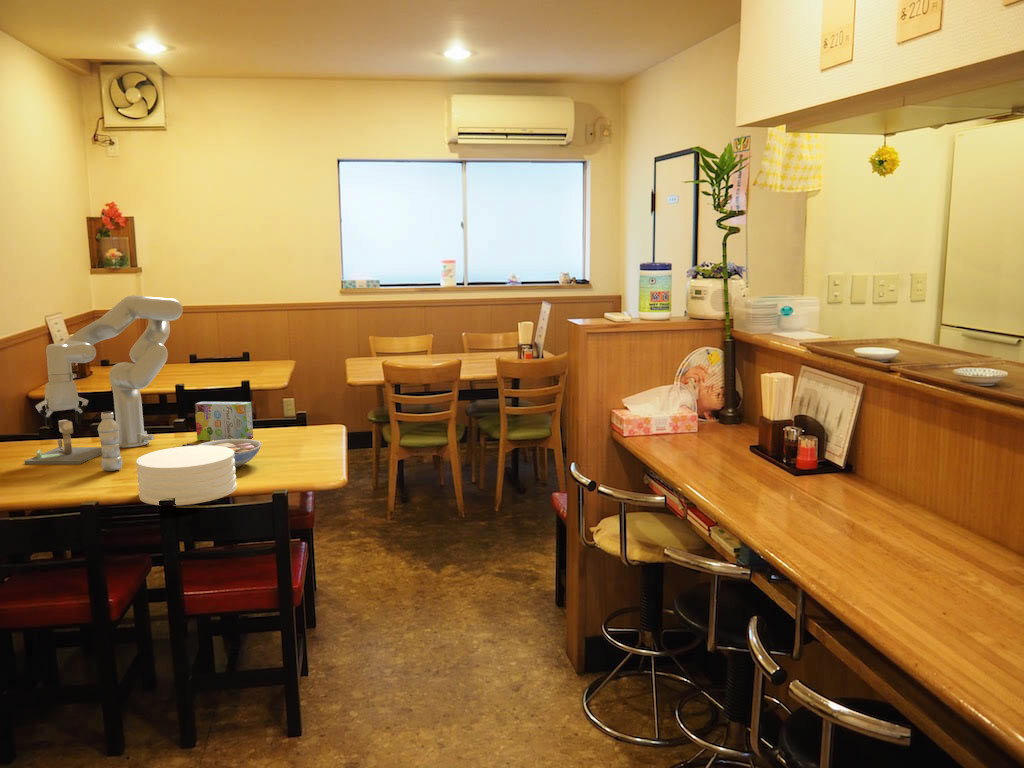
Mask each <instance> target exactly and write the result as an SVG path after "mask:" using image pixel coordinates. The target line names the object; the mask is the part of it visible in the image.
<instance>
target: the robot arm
mask: <svg viewBox="0 0 1024 768" xmlns="http://www.w3.org/2000/svg"><path fill="white" fill-rule="evenodd" d="M183 311H184V309H183V305H182V303H181V302H180V301H179V300H177V299H175V298H169V297H168V298H167V297H154V296H148V295H147V296H145V295H134V294H133V295H127V296H126V297H124V298H122V299H121V300H120V301H119V302H118V303H116V304H115V305H114V306H113V307H112V308H110V309H109V311H107V312H105V314H104V315H102V316H101V317H100V318H98V319H96V320H94V321H92V322H91V323H89V324H87V325H86V326H84V327H82V328H80V329H79V330H77V331H76V332H75V333H73V334H72V335H71V336H70V337H69V338H68V339H67V340H65V341H64V343H62V342H61V343H60V342H59V343H51V344H48V345H47V346H46V348H45V353H46V354H45V355H46V363H47V364H46V365H47V376H48V377H47V378H48V382H46V383H45V389H44V400H42V401H40V402H39V403H37V404H35V408H36V410H37V411H38V413H40V414H41V415H42V416H43V417H44V425H45V426H46V427H47V428H48V429H52V428H53V420H52V416H51V415H52V414H53V412H59V411H60V412H61V411H66V410H74V411H75V413H74V417H75V420H74V421H75V424H77V425H81V424H82V421H83V417H82V413H83V412H84V411H85V409H86V408H87V405H88V403H89V400H88V399H86V398H83V397H80V396H79V393H78V388H77V386H76V382H75V381H74V379H75V378H77V374H76V373H73V367H72V363H74V364H75V363H77V364H85V363H86V364H87V363H89V362H91V361H93V360H94V359H95V358H96V356H97V349H96V347H95V346H94V345H95V344H97V343H100V342H101V341H104V340H108V339H112V338H115V337H117V336H119V335H120V334H122V333H123V331H124V330H126V329H127V328H128V327H129V326H130V325H131V324H133V322H135V321H136V320H137V319H145V320H148V324H147V327H146V328H145V330H144V331H143V333H142V334H141V335H140V336H139V337H138V338H137V340H136V341H135V343H134V344H133V345H132V347H131V348H130V350H129V357H130V360H131V361H132V362H127V361H123V362H118V363H116V364H113V366H112V367H111V368H110V371H109V374H108V375H109V376H108V378H109V383H110V385H111V391H112V393H113V405H114V406H113V408H114V417H115V422H116V423H117V424H118V426H119V449H121V448H123V449H124V448H125V449H126V448H136V447H142V446H145V445H148V444H149V443H150V441H154V439H155V435H154V434H152V433H150V434H148V432H147V430H145V428H144V417H143V416H144V415H143V414H144V413H143V405H142V404H143V401H142V396H141V391H140V390H143V389H145V388H147V387H148V386H149V385H150V384H151V383H152V381H153V380H154V379H155V378H156V377H157V376H158V374H159V373H160V371H161V370H162V368H163V367H164V366H165V364H166V362H167V361H168V356H169V351H168V349H167V347H166V346H165V343H166V341H168V339H169V337H170V333H171V326H170V322H171V321H176V320H178V319H179V318H180V317H181V316H182V314H183ZM80 402H82V404H81V405H80ZM44 406H45V409H46V410H43V407H44Z"/></svg>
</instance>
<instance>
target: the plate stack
mask: <svg viewBox="0 0 1024 768" xmlns="http://www.w3.org/2000/svg"><path fill="white" fill-rule="evenodd" d="M195 445H196V446H183V447H182V446H177V447H169V448H168V447H167V448H165V449H158V450H156V451H151V452H149V453H145V454H143V455H141V456H139V457H138V458H137V459H136V461H135V463H136V474H137V483H138V485H137V487H138V499H139V500H140V501H141V502H143V503H145V504H149V505H155V506H160V505H159V501H160V500H162V499H166V498H175V504H176V505H175V506H185V505H195V504H200V503H206V502H211V501H215V500H218V499H222V498H225V497H227V496H229V495H230V494H233V493H234V492H236V490H237V487H238V486H237V482H236V481H237V475H236V468H235V466H234V465H235V459H234V456H235V455H234V450H232V449H230V448H227V447H223V446H213V445H199V444H195Z"/></svg>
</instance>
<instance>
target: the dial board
mask: <svg viewBox="0 0 1024 768" xmlns="http://www.w3.org/2000/svg"><path fill="white" fill-rule="evenodd" d="M62 448H64V446H62ZM100 454H102V447H95V446H93V447H91V446H90V447H88V446H85V447H84V446H83V447H79V446H78V447H77V446H76V447H74V446H72V453H71V454H65V452H64V451H62V450H59V446H58V447H55V448H52V449H51V450H48V451H45V452H43V453H42V449H38V450H37V451H36V456H33V457H31V458H28V459H25V460H24V461H23V462H24V465H81V463H82V464H84V463H86V462H88V461H87V460H89V461H90V459H91V460H92V458H93V459H95V458H97V457H99V455H100ZM96 456H97V457H96ZM100 456H101V455H100ZM94 457H95V458H94ZM85 461H86V462H85ZM83 462H84V463H83Z"/></svg>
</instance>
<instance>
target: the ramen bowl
mask: <svg viewBox="0 0 1024 768" xmlns="http://www.w3.org/2000/svg"><path fill="white" fill-rule="evenodd" d="M196 445H197V444H193V443H189V442H188V443H186V444H181V447H183V446H196ZM198 445H213V446H223V447H227V448H230V449H232V450H234V455H235V456H234V459H235V465H234V466H235V469H237V467H238V468H239V467H241V466H242V465H245V464H247V463H249V462H250V461H252V460H253V458H254V457H256V455H257V454H258V452H259V451H260V449H261V447H262V442H261V441H259V440H256V439H253V440H251V439H225V440H216V441H204V442H203V443H199V444H198Z"/></svg>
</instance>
